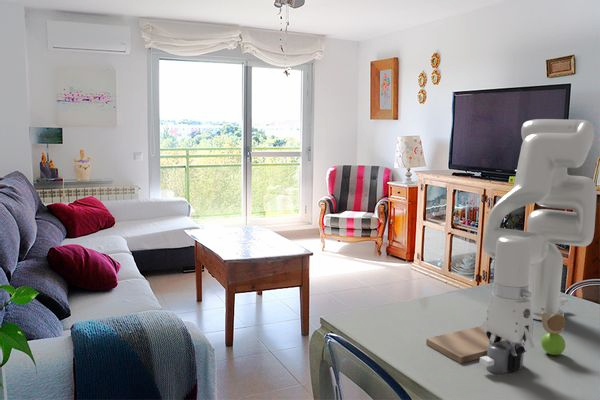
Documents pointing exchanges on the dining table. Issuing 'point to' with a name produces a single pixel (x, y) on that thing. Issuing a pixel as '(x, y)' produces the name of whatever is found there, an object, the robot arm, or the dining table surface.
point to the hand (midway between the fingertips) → (504, 364)
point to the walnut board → (462, 344)
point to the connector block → (498, 357)
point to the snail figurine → (553, 333)
